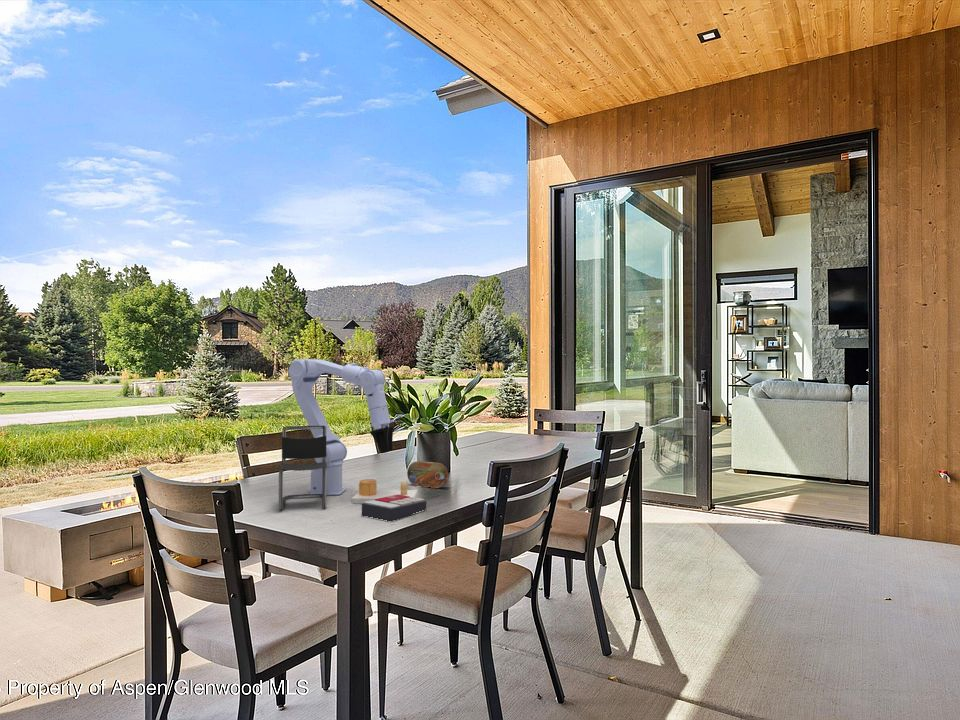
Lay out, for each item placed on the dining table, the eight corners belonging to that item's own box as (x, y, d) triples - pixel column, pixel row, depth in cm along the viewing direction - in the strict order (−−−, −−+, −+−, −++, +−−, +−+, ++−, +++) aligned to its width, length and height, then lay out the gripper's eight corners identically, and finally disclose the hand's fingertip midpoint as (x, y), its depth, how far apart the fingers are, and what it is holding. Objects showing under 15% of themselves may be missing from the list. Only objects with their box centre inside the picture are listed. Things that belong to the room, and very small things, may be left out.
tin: (406, 485, 203) (406, 460, 203) (411, 483, 206) (412, 459, 206) (444, 490, 196) (444, 464, 196) (449, 488, 199) (449, 462, 199)
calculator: (427, 498, 170) (391, 506, 158) (426, 513, 170) (390, 522, 158) (398, 493, 176) (361, 500, 164) (397, 507, 176) (360, 516, 164)
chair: (326, 496, 187) (326, 425, 187) (326, 509, 170) (326, 432, 170) (282, 498, 183) (282, 426, 183) (278, 512, 167) (278, 433, 166)
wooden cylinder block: (357, 495, 181) (357, 482, 181) (361, 492, 186) (361, 479, 186) (374, 495, 180) (374, 482, 180) (377, 492, 185) (377, 479, 185)
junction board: (351, 503, 177) (351, 486, 177) (360, 494, 189) (360, 478, 189) (412, 504, 177) (412, 487, 177) (417, 494, 189) (417, 478, 189)
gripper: (386, 405, 177) (396, 450, 176) (394, 405, 192) (403, 447, 190) (363, 410, 177) (372, 455, 176) (372, 410, 192) (381, 452, 190)
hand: (386, 451), depth 183 cm, fingers open, 7 cm apart
